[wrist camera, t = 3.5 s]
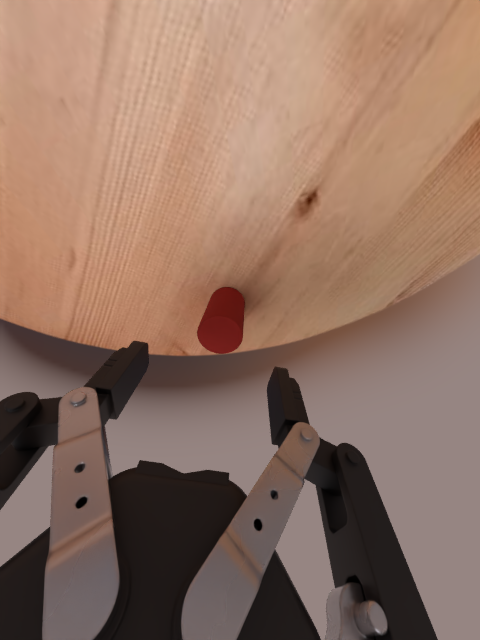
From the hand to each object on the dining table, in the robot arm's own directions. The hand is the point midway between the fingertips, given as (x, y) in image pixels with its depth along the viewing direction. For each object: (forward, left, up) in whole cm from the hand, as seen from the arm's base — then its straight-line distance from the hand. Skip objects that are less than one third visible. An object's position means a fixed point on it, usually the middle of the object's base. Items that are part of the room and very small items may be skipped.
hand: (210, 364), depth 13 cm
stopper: (0, 0, -10) cm, 10 cm away
